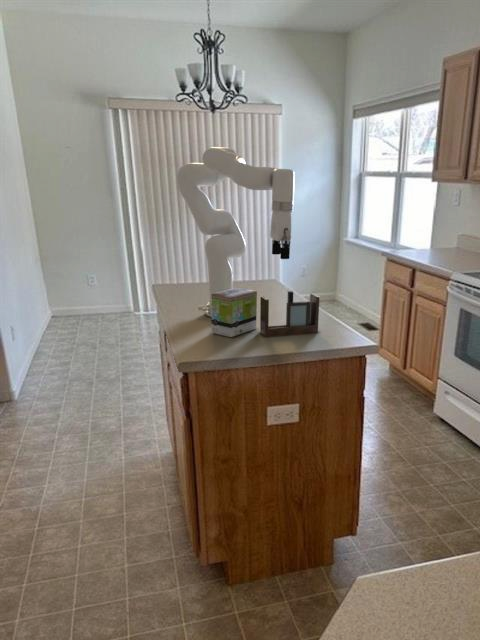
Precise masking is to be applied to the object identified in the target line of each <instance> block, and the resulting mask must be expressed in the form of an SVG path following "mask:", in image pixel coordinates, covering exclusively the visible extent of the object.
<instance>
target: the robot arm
mask: <svg viewBox="0 0 480 640" xmlns="http://www.w3.org/2000/svg"><path fill="white" fill-rule="evenodd" d="M295 175H296V174H295V171H294V170H293V169H289V168H276V167H270V166H253V165H251V164H246V161H245V158H244V156H242V155H240V154H238V152H236V150H234V149H233V148H230V147H220V146H212V147H208V148H207V149H206V150H204V152H203V154H202V162H188V163H185V164H183V165H181V166H180V167H179V169H178V171H177V176H176V183H177V188H178V190H179V193H180V195H181V196H182V198H183V199H184V201H185V203H186V204H187V207H188V208H189V210H190V212H191V215H192V217H193V219H194V221H195V223H196V225H197V227H198V229H199V231H200V233H202V234H203V235H204V236H211V237H209V238H208V239H207V240H206V241H205V245H204V250H205V255H206V256H205V257H206V260H207V270H208V297H209V298H208V299H209V302H207V304H205V305H198V306H197V311H202V312H205V315H206V316H207V317H210V318H212V293H216V292H221V291H225V290H229V289H233V288H234V284H233V283H234V282H233V281H234V280H233V279H234V278H233V277H234V276H233V268H232V266H231V263H230V261H229V260H232V259H237V258H241V257H242V256H243V255H245V252H246V250H247V245H246V240H245V238H244V235H243V233H242V232H241V229H240V227H239V225H238V223H237V221H236V219H235V217H234V215H233V214H232V213H231V212H230V211H228V210H227V209H216V208H214V206H213V205H212V203H211V200H210V198H209V197H208V196H207V194H206V193H205V192H204V191H203V190H202V189H201V188H200V187H214V186H215V187H216V186H217V185H219V184H220V183H222V182H223V181H224V180H226V179H227V178H228V179H231V180H232V182H233V183H235V185H238V186H240V187H243V188H245V189H249V190H251V191H271V219H270V231H269V234H270V235H269V236H270V238H271V239H272V240H271V254H272V255H280V256H279V258H280V260H290V256H291V255H290V250H291V239H292V213H293V212H294V197H295V195H294V194H295Z"/></svg>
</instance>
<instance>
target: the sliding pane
mask: <svg viewBox="0 0 480 640" xmlns="http://www.w3.org/2000/svg"><path fill="white" fill-rule="evenodd" d="M285 310H286V311H285V313H286V314H285V325H286V327H291V326H304V325H309V322H310V300H306V301H294V291H292V290H289V291H287V301H286V309H285Z"/></svg>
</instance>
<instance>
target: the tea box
mask: <svg viewBox="0 0 480 640" xmlns="http://www.w3.org/2000/svg"><path fill="white" fill-rule="evenodd" d="M257 309H258V291H257V290H252V289H248V288H247V289H246V288H241V287H233V289H229V290H225V291H221V292H216V293H212V317H211V333H212V334H216V335H218V336H219V335H220V336H224V337H228V338H233V337H236V336H238V335H241V334H245V333H247V332H250V331H253V330H256V329H257V314H258V313H257V312H258V311H257Z"/></svg>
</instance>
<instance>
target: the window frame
mask: <svg viewBox="0 0 480 640" xmlns="http://www.w3.org/2000/svg"><path fill="white" fill-rule="evenodd" d="M259 301H260V304H259V305H260V306H259V307H260V308H259V309H260V310H259V313H260V317H259V319H260V320H259V321H260V325H259V326H260V328H259V329H260V331H259V332H260V334H262V336H264V338H267V337H278V336H279V337H281V336H292V335H293V336H294V335H304V334H305V335H306V334H318V333H319V316H320V315H319V314H320V296H319V295H317V294H315V293H313V292H312V293H310V294H309V301H310V322H309V325H304V326H291V327H286V324H280V325H269V321H270V320H269V318H270V317H269V315H270V314H269V312H270V310H269V309H270V300H269V298H267V297H266V296H265V295H260V300H259Z"/></svg>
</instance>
